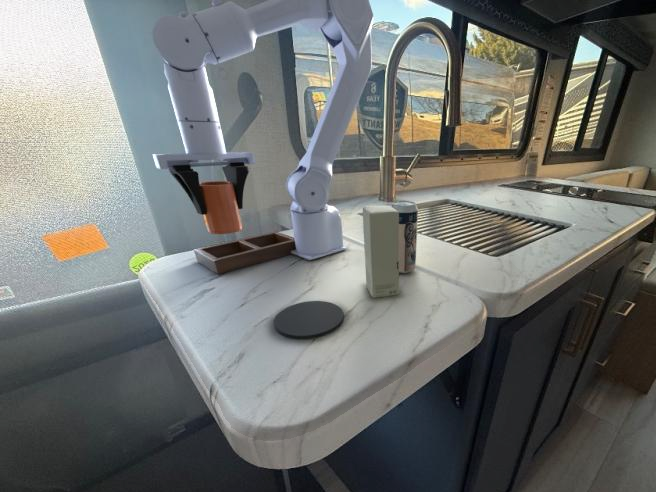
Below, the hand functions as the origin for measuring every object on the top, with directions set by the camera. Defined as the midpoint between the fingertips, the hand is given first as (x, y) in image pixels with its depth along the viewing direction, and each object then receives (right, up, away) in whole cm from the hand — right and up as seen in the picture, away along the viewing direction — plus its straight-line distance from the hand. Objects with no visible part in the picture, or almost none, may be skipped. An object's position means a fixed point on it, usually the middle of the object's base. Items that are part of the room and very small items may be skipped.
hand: (221, 210), depth 55 cm
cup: (0, -3, +2) cm, 3 cm away
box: (+29, -14, -5) cm, 32 cm away
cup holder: (+2, -7, +8) cm, 11 cm away
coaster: (+20, -18, -13) cm, 30 cm away
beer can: (+32, -10, +3) cm, 34 cm away
